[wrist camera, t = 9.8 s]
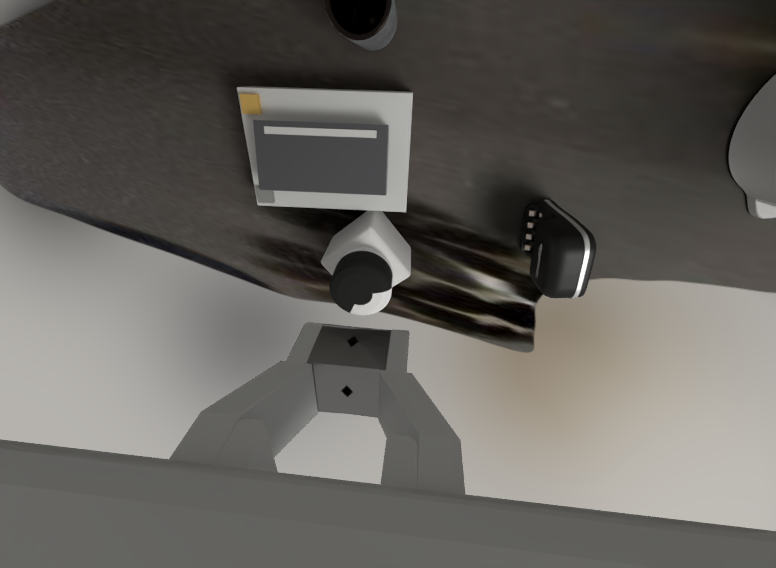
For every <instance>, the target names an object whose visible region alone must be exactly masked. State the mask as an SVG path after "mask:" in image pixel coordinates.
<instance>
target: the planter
mask: <svg viewBox="0 0 776 568" xmlns="http://www.w3.org/2000/svg"><path fill="white" fill-rule="evenodd" d="M324 5H325V9H326V13H327V15H328V18H329V20H330V22H331V23H332V25H333V26H334V28H335V29H336V30H337V31H338V32H339V33H340V34H341V35H343V36H344V37H346V38H347V39H349V40H350V41H352V42H354V43H355V44H357V45H358V46H360V47H362V48H364V49H366V50H371V51H375V50H380V49H382V48H384V47H385V46H387V45H388V44H389V43H390V41H391V40H392V38H393V37H394V34H395V32H396V28H397V11H396V6H395V2H394V0H324Z"/></svg>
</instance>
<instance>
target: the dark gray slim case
mask: <svg viewBox="0 0 776 568" xmlns="http://www.w3.org/2000/svg"><path fill="white" fill-rule="evenodd" d="M253 126H254V137H255V148H256V159H257V170H258V181H259V190H274V191H296V192H318V193H341V194H363V195H385V196H386V194H387V175H388V147H389V125H379V124H352V123H325V122H299V121H272V120H253Z"/></svg>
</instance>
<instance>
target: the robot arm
mask: <svg viewBox="0 0 776 568" xmlns="http://www.w3.org/2000/svg"><path fill="white" fill-rule="evenodd" d="M729 167H730V171H731V174H732V176H733V178H734V180H735V181H736V182H737V184H738V185H739V186H740V187H741V188H742V189H743V190H744V191H745V193H746V195H747V204H748V210H749V213H750V214H751V215H752V216H755V217H759V218H774V217H776V74H775V75H774V76H773V77H772V78H771V79H770V80H769V81H768V82H767V83H766V84H765V85H764V86H763V87H762V89H761V90H760V91H759V92H758V93H757V94H756V96H755V97H754V98H753V99H752V101H751V102H750V103H749V105H748V106H747V108H746V109H745V111H744V113H743V114H742V116H741V118H740V120H739V122H738V124H737V126H736V128H735V131H734V133H733V136H732V139H731V143H730V148H729ZM408 345H409V331H404V330H392V331H391V330H384V329H371V328H359V327H351V326H341V325H332V324H320V323H311V322H307V323H306V324H305V325H304V326H303V328H302V330H301V332H300V334H299V337H298V338H297V340H296V342H295V345H294V347H293V348H292V350H291V353H290V355H289V356H288V358H287V360H286V361H280V362H279V363H277V364H275V365H274V366H272V367H271V368H269V369H268V370H266V371H264V372H263V373H261V374H260V375H258V376H257V377H255V378H253V379H252V380H250V381H249V382H247V383H246V384H244V385H242V386H241V387H239V388H238V389H236V390H234V391H233V392H232V393H230V394H228V395H227V396H225V397H224V398H222V399H220V400H219V401H217V402H216V403H214V404H213V405H211V406H209V407H208V408H206V409H205V410H203V411H202V412H201V413H200V414H199V416H198V417H197V419H196V420H195V422H194V423H193V425H192V426H191V428H190V429H189V430H188V432H187V434H186V435H185V436H184V438H183V440H182V441H181V442H180V444H179V445H178V447H177V448H176V450H175V451H174V453H173V454H172V456H171V457H170V459H169V460H168V459H159V458H152V457H143V456H135V455H126V454H118V453H109V452H101V451H93V450H84V449H76V448H67V447H58V446H50V445H41V444H33V443H24V442H17V441H8V440H0V568H776V531H768V530H760V529H752V528H743V527H734V526H726V525H718V524H710V523H701V522H693V521H684V520H675V519H667V518H659V517H650V516H642V515H633V514H625V513H617V512H608V511H600V510H591V509H583V508H575V507H566V506H557V505H549V504H541V503H532V502H524V501H514V500H507V499H498V498H490V497H482V496H473V495H465V487H464V475H463V465H462V454H461V442H460V439H459V438H458V436H457V435H456V434H455V432H454V431H453V429H452V428H451V427H450V425H449V424H448V423H447V421H446V420H445V418H444V417H443V416H442V415H441V413H440V412H439V410H438V409H437V407H436V406H435V405H434V403H433V402H432V401H431V399H430V398H429V396H428V395H427V394H426V392H425V391H424V389H423V388H422V387H421V385H420V384H419V383H418V381H417V380H416V378H415V377H414V376H413V375H412V373H407V372H406V371H407V357H408ZM318 411H319V412H332V413H345V414H354V415H361V416H369V417H377V418H378V419H379V422H380V424H381V426H382V428H383V431H384V433H385V435H386V437H387V440H386V448H385V455H384V463H383V471H382V478H381V485H380V484H371V483H362V482H354V481H345V480H337V479H328V478H320V477H311V476H303V475H295V474H286V473H278V472H277V468H276V464H275V460H274V457H275V456H276V455H277V454H278V453H279V452H280V451H281V450H282V449H283V448H284V447H285V446H286V445H287V444H288V443H289V442H290V441H291V440H292V439H293V438H294V437H295V436H296V435H297V434H298V433H299V432H300V431H301V430H302V429H303V428H304V427H305V426H306V425H307V424H308V423H309V422H310V421H311V420H312V418H314V417H315V416H316V415H317V414H318Z"/></svg>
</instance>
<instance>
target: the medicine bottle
mask: <svg viewBox="0 0 776 568" xmlns="http://www.w3.org/2000/svg"><path fill="white" fill-rule="evenodd" d="M321 264H322V265H323V266H324V267H325V268H326V269H327V270H328V271H329V273H330V274H331V275H332V278H331V281H330V293H331V296H332V298H333V300H334V301H335V303H336V304H337V305H338V306H339V307H341V308H342V309H343V310H345V311H347V312H349V313H352V314H356V315H370V314H373V313H376V312H378V311H380V310H382V309H383V308H384V307H385V306H386V305H387V304H388V302H389V300H390V298H391V292H392V287H393V286H395V285H397V284H398V283H400V282H401V281H403V280H405V279H406V278H408V277H409V276H410V274H411V248H410V246H409V245H408V243H407V242H406V241H405V240H404V238H403V237H402V236H401V235H400V233H399V232H398V231H397V230H396V228H395V227H394V226H393V225H392V223H391V222H390V221H389V220H388V218H387V217H386V216H385V214H384V213H383V212H382V211H371V210H368V211H366V212H365V213H364V214H362V215H361V216H360V217H358V218H357V219H356V220H354V221H353V222H352V223H350V224H349V225H348V226H346V227H345V228H344V229H342V230H341V231H340V232H338V233H337V234H336V235H334V236H333V238H332V240H331V242H330V244H329V246H328V248H327V250H326V252H325V254H324V256H323V258H322V260H321Z"/></svg>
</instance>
